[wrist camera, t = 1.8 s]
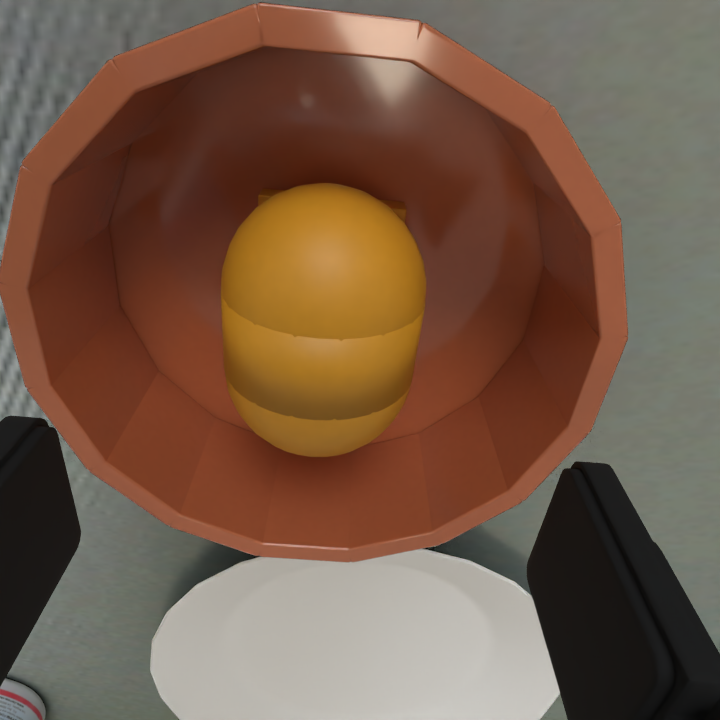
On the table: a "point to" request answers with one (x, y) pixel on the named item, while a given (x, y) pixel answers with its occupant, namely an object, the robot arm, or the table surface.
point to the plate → (354, 643)
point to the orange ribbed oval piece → (321, 317)
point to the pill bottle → (20, 702)
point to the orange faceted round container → (230, 209)
